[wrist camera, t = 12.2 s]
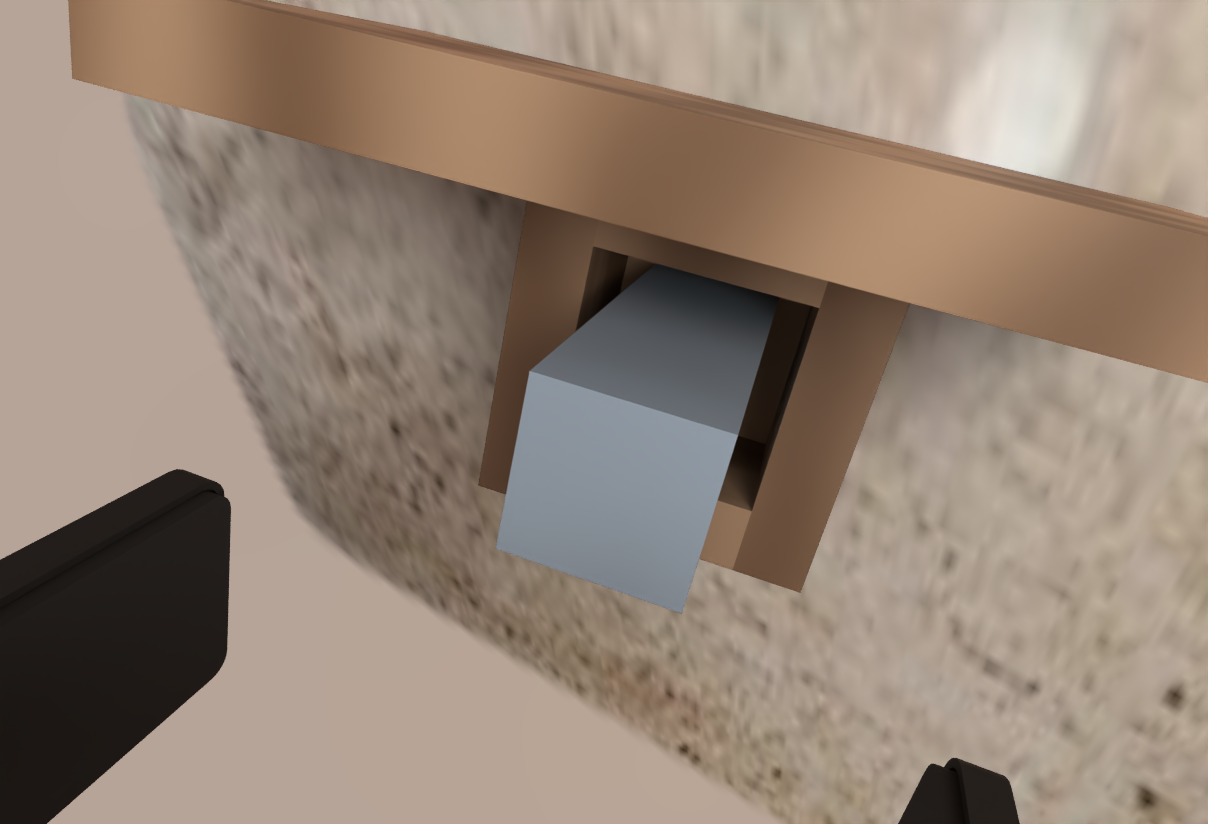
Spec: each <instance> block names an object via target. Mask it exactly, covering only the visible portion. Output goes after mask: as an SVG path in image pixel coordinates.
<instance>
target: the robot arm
mask: <svg viewBox="0 0 1208 824" xmlns="http://www.w3.org/2000/svg"><path fill="white" fill-rule="evenodd" d="M230 517H231V506H230V502H229V500H228V499H227V498H225V497H224V490H223V488H222V486H221V485H220V484H218V483H217V482H215V481H212V480H209V479H207V478H204V477H201V476H199V475H196V474H193V473H191V472H188V471H185V470H178V469H176V470H173V471H170V472H168V473H166V474H164V475H162V476H160V477H158V478H156V479H154V480H152V481H151V482H149V483H147V484H145V485H143V486H141V487H139V488H137V489H135V490H133V491H131V492H129V493H128V494H126V495H124V496H122V497H120V498H118V499H116V500H115V501H112V502H111V503H108V504H106V505H105V506H103V507H101V508H99V509H97V510H95V511H93V512H91V513H89V514H87V515H85V516H83V517H82V518H80V519H78V520H76V521H74V522H72V523H70V524H68V525H66V526H64V527H62V528H60V529H58V530H57V531H55V532H53V533H51V534H49V535H47V536H45V537H43V538H41V539H39V540H37V541H35V542H34V543H32V544H30V545H28V546H26V547H24V548H22V549H20V550H18V551H16V552H14V553H12V554H11V555H9V556H7V557H5V558H3V559H1V560H0V824H47V823H48V822H49V821H50V820H51V819H52V818H54V817H55V816H56V815H57V814H58V813H59V812H60V811H62V809H64V808H65V807H66V806H67V805H69V804H70V803H71V802H72V801H73V800H74V799H75V798H76V797H78V796H79V795H80V794H81V793H82V792H83V791H84V790H86V789H87V788H88V787H89V786H90V785H91V784H92V783H94V782H95V781H96V780H97V779H98V778H99V777H100V776H102V775H103V774H104V773H105V772H106V771H107V770H108V769H109V768H111V767H112V766H113V765H114V764H115V763H116V762H118V761H119V760H120V759H121V758H122V757H123V756H124V755H125V754H127V753H128V752H129V751H130V750H131V749H132V748H134V747H135V746H136V745H137V744H138V743H139V742H140V741H142V740H143V739H144V738H145V737H146V736H147V735H148V734H150V733H151V732H152V731H153V730H154V729H155V728H156V727H157V726H159V725H160V724H161V723H162V722H163V721H164V720H166V719H167V718H168V717H169V716H170V715H171V714H172V713H174V712H175V711H176V710H177V709H178V708H179V707H180V706H181V705H183V704H184V703H185V702H186V701H187V700H188V699H189V698H191V697H192V696H193V695H194V694H195V693H196V692H198V690H200V689H201V688H202V687H203V686H204V685H205V684H207V683H208V682H209V681H210V680H211V679H212V678H213V677H214V676H215V675H216V674H217V673H218V671H219V670H220V668H221V667H222V665H223V663H224V660H225V657H226V654H227V636H228V635H227V634H228V598H229V597H228V596H229V560H230V559H229V558H230V522H231V518H230ZM898 824H1020V823H1019V819H1018V815H1017V810H1016V806H1015V801H1014V797H1013V792H1012V788H1011V785H1010V782H1009V780H1008V779H1007V778H1006V777H1005V776H1003V775H1000V774H998V773H995V772H992V771H990V770H987V769H984V768H982V767H979V766H976V765H974V764H971V763H968V762H966V761H963V760H960V759H958V758H952V759H950V760H949V761H948V762H947V764H946V765H945V767H941V766H939V765H936V764H930V765H929V766H928V768H927V769H926V771H925V772H924V774H923V776H922V778H921V780H920V782H919V784H918V786H917V788H916V790H915V792H914V794H913V796H912V798H911V800H910V802H909V804H908V806H907V808H906V810H905V812H904V813H903V815H902V817H901V819H900V821H899V823H898Z"/></svg>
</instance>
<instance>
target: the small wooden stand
mask: <svg viewBox="0 0 1208 824" xmlns="http://www.w3.org/2000/svg"><path fill="white" fill-rule="evenodd" d="M68 1H69V22H70V42H71V61H72V78H73V79H76V80H79V81H83V82H87V83H91V84H95V85H98V86H102V87H106V88H109V89H113V90H117V91H120V92H124V93H128V94H132V95H135V96H139V97H143V98H147V99H150V100H154V101H158V102H162V103H165V104H169V105H173V106H176V107H180V108H184V109H188V110H191V111H195V112H199V113H203V114H206V115H210V116H214V117H217V118H221V119H225V120H229V121H232V122H236V123H240V124H244V125H247V126H251V127H255V128H259V129H262V130H266V131H270V132H273V133H277V134H281V135H285V136H288V137H292V138H296V139H300V140H303V141H307V142H311V143H315V144H318V145H322V146H326V147H329V148H333V149H337V150H341V151H344V152H348V153H352V154H356V155H359V156H363V157H367V158H370V159H374V160H378V161H382V162H385V163H389V164H393V165H397V166H400V167H404V168H408V169H412V170H415V171H419V172H423V173H426V174H430V175H434V176H438V177H441V178H445V179H449V180H453V181H456V182H460V183H464V184H467V185H471V186H475V187H479V188H482V189H486V190H490V191H494V192H497V193H501V194H505V195H509V196H512V197H516V198H520V199H523V200H527V203H526V209H525V215H524V221H523V226H522V232H521V238H520V244H519V250H518V256H517V262H516V267H515V273H514V279H513V285H512V291H511V297H510V303H509V308H508V314H507V320H506V326H505V332H504V338H503V344H502V349H501V355H500V361H499V367H498V373H497V379H496V385H495V390H494V396H493V402H492V408H491V414H490V420H489V426H488V431H487V437H486V443H485V449H484V455H483V461H482V467H481V473H480V478H479V484H478V485H479V486H482V487H485V488H488V489H491V490H494V491H497V492H500V493H503V494H506V492H507V487H508V481H509V476H510V471H511V466H512V461H513V455H514V450H515V445H516V440H517V434H518V429H519V424H520V419H521V414H522V408H523V403H524V398H525V393H526V388H527V382H528V377H529V372H530V370H531V369H533V368H534V367H535V366H536V365H537V364H538V363H540V362H541V361H542V360H543V359H544V358H545V357H547V356H548V355H549V354H550V353H551V352H553V351H554V350H555V349H556V348H557V347H558V346H560V345H561V344H562V343H563V342H564V341H565V340H567V339H568V338H569V337H570V336H571V335H572V334H574V333H575V332H576V331H577V330H578V329H580V328H581V327H582V326H583V325H584V324H585V323H587V322H588V321H589V320H590V319H591V318H592V317H594V316H595V315H596V314H597V313H598V312H600V311H601V310H602V309H603V308H604V307H605V306H607V305H608V304H609V303H610V302H611V301H612V300H614V299H615V298H616V297H617V296H618V295H620V294H621V293H622V292H623V291H624V290H625V289H627V288H628V287H629V286H630V285H631V284H632V283H634V282H635V281H636V280H637V279H638V278H639V277H641V276H642V275H643V274H644V273H645V272H647V271H648V270H649V269H650V268H651V267H652V266H654V265H655V264H660V265H664V266H667V267H671V268H675V269H678V270H682V271H686V272H689V273H693V274H697V275H700V276H704V277H708V278H711V279H715V280H719V281H722V282H726V283H729V284H733V285H737V286H740V287H744V288H748V289H751V290H755V291H759V292H762V293H766V294H770V295H773V296H777V297H779V300H778V304H777V307H776V310H775V314H774V317H773V320H772V324H771V327H770V330H769V334H768V337H767V340H766V344H765V347H764V350H763V354H762V357H761V360H760V364H759V367H758V370H757V374H756V377H755V380H754V384H753V387H752V390H751V394H750V397H749V400H748V404H747V407H746V410H745V414H744V417H743V420H742V424H741V427H740V430H739V434H738V437H737V440H736V443H735V446H734V450H733V453H732V456H731V459H730V462H729V466H728V469H727V472H726V475H725V478H724V481H723V485H722V488H721V491H720V494H719V497H718V500H717V504H716V507H715V510H714V513H713V516H712V519H711V523H710V526H709V529H708V532H707V535H706V539H705V542H704V545H703V548H702V551H701V554H700V558H699V559H701V560H704V561H707V562H710V563H713V564H716V565H719V566H722V567H725V568H728V569H731V570H734V571H737V572H740V573H743V574H746V575H749V576H752V577H755V578H758V579H761V580H764V581H767V582H770V583H773V584H776V585H779V586H782V587H785V588H788V589H791V590H794V591H797V592H801V590H802V587H803V584H804V582H805V579H806V576H807V574H808V571H809V569H810V566H811V563H812V561H813V558H814V555H815V553H816V550H817V547H818V545H819V542H820V539H821V537H822V534H823V532H824V529H825V526H826V524H827V521H828V518H829V516H830V513H831V510H832V508H833V505H834V502H835V500H836V497H837V495H838V492H839V489H840V487H841V484H842V481H843V479H844V476H845V473H846V471H847V468H848V465H849V463H850V460H851V458H852V455H853V452H854V450H855V447H856V444H857V442H858V439H859V436H860V434H861V431H862V428H863V426H864V423H865V420H866V418H867V415H868V413H869V410H870V407H871V405H872V402H873V399H874V397H875V394H876V391H877V389H878V386H879V383H880V381H881V378H882V376H883V373H884V370H885V368H886V365H887V362H888V360H889V357H890V354H891V352H892V349H893V346H894V344H895V341H896V339H897V336H898V333H899V331H900V328H901V325H902V323H903V320H904V317H905V315H906V312H907V309H908V307H909V304H910V303H912V304H915V305H919V306H923V307H926V308H930V309H934V310H938V311H941V312H945V313H949V314H953V315H956V316H960V317H964V318H967V319H971V320H975V321H979V322H982V323H986V324H990V325H994V326H997V327H1001V328H1005V329H1009V330H1012V331H1016V332H1020V333H1023V334H1027V335H1031V336H1035V337H1038V338H1042V339H1046V340H1050V341H1053V342H1057V343H1061V344H1064V345H1068V346H1072V347H1076V348H1079V349H1083V350H1087V351H1091V352H1094V353H1098V354H1102V355H1106V356H1109V357H1113V358H1117V359H1120V360H1124V361H1128V362H1132V363H1135V364H1139V365H1143V366H1147V367H1150V368H1154V369H1158V370H1162V371H1165V372H1169V373H1173V374H1176V375H1180V376H1184V377H1188V378H1191V379H1195V380H1199V381H1203V382H1206V383H1208V218H1205V217H1201V216H1198V215H1195V214H1191V213H1188V212H1184V211H1181V210H1177V209H1174V208H1170V207H1166V206H1161V205H1157V204H1153V203H1149V202H1144V201H1140V200H1136V199H1132V198H1128V197H1123V196H1119V195H1115V194H1111V193H1106V192H1102V191H1098V190H1094V189H1089V188H1085V187H1081V186H1077V185H1073V184H1068V183H1064V182H1060V181H1056V180H1051V179H1047V178H1043V177H1039V176H1034V175H1030V174H1026V173H1022V172H1018V171H1013V170H1009V169H1005V168H1001V167H996V166H992V165H988V164H984V163H979V162H975V161H971V160H967V159H963V158H958V157H954V156H950V155H946V154H941V153H937V152H933V151H929V150H925V149H920V148H916V147H912V146H908V145H903V144H899V143H895V142H891V141H886V140H882V139H878V138H874V137H870V136H865V135H861V134H857V133H853V132H848V131H844V130H840V129H836V128H831V127H827V126H823V125H819V124H815V123H810V122H806V121H802V120H798V119H793V118H789V117H785V116H781V115H776V114H772V113H768V112H764V111H760V110H755V109H751V108H747V107H743V106H738V105H734V104H730V103H726V102H722V101H717V100H713V99H709V98H705V97H700V96H696V95H692V94H688V93H683V92H679V91H675V90H671V89H667V88H662V87H658V86H654V85H650V84H645V83H641V82H637V81H633V80H628V79H624V78H620V77H616V76H612V75H607V74H603V73H599V72H595V71H590V70H586V69H582V68H578V67H573V66H569V65H565V64H561V63H557V62H552V61H548V60H544V59H540V58H535V57H531V56H527V55H523V54H519V53H514V52H510V51H506V50H502V49H497V48H493V47H489V46H485V45H480V44H476V43H472V42H468V41H464V40H459V39H455V38H451V37H447V36H442V35H438V34H434V33H430V32H425V31H421V30H416V29H410V28H405V27H400V26H395V25H390V24H385V23H379V22H374V21H369V20H364V19H359V18H354V17H348V16H343V15H338V14H333V13H328V12H323V11H317V10H312V9H307V8H302V7H297V6H292V5H286V4H281V3H276V2H271V1H266V0H68Z"/></svg>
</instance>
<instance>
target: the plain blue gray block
mask: <svg viewBox="0 0 1208 824" xmlns="http://www.w3.org/2000/svg"><path fill="white" fill-rule="evenodd" d="M778 300H779V297H777V296H773V295H770V294H766V293H762V292H759V291H755V290H751V289H748V288H744V287H740V286H737V285H733V284H729V283H726V282H722V281H719V280H715V279H711V278H708V277H704V276H700V275H697V274H693V273H689V272H686V271H682V270H678V269H675V268H671V267H667V266H664V265H660V264H655V265H654V266H652V267H651V268H650V269H649V270H648V271H647V272H645V273H644V274H643V275H642V276H641V277H639V278H638V279H637V280H636V281H635V282H634V283H632V284H631V285H630V286H629V287H628V288H627V289H625V290H624V291H623V292H622V293H621V294H620V295H618V296H617V297H616V298H615V299H614V300H612V301H611V302H610V303H609V304H608V305H607V306H605V307H604V308H603V309H602V310H601V311H600V312H598V313H597V314H596V315H595V316H594V317H592V318H591V319H590V320H589V321H588V322H587V323H585V324H584V325H583V326H582V327H581V328H580V329H578V330H577V331H576V332H575V333H574V334H572V335H571V336H570V337H569V338H568V339H567V340H565V341H564V342H563V343H562V344H561V345H560V346H558V347H557V348H556V349H555V350H554V351H553V352H551V353H550V354H549V355H548V356H547V357H545V358H544V359H543V360H542V361H541V362H540V363H538V364H537V365H536V366H535V367H534V368H533V369H531V370H530V372H529V377H528V382H527V388H526V393H525V398H524V403H523V408H522V414H521V419H520V424H519V429H518V434H517V440H516V445H515V450H514V455H513V461H512V466H511V471H510V476H509V481H508V487H507V492H506V497H505V502H504V507H503V513H502V518H501V523H500V528H499V533H498V539H497V544H496V549H498V550H501V551H504V552H507V553H510V554H512V555H515V556H518V557H521V558H524V559H527V560H530V561H532V562H535V563H538V564H541V565H544V566H547V567H550V568H552V569H555V570H558V571H561V572H564V573H567V574H570V575H572V576H575V577H578V578H581V579H584V580H587V581H590V582H592V583H595V584H598V585H601V586H604V587H607V588H610V589H613V590H615V591H618V592H621V593H624V594H627V595H630V596H633V597H635V598H638V599H641V600H644V601H647V602H650V603H653V604H655V605H658V606H661V607H664V608H667V609H670V610H673V611H675V612H678V613H681V614H682V611H683V608H684V605H685V602H686V599H687V596H688V592H689V589H690V586H691V583H692V580H693V577H694V573H695V570H696V567H697V564H698V561H699V558H700V554H701V551H702V548H703V545H704V542H705V539H706V535H707V532H708V529H709V526H710V523H711V519H712V516H713V513H714V510H715V507H716V504H717V500H718V497H719V494H720V491H721V488H722V485H723V481H724V478H725V475H726V472H727V469H728V466H729V462H730V459H731V456H732V453H733V450H734V446H735V443H736V440H737V437H738V434H739V430H740V427H741V424H742V420H743V417H744V414H745V410H746V407H747V404H748V400H749V397H750V394H751V390H752V387H753V384H754V380H755V377H756V374H757V370H758V367H759V364H760V360H761V357H762V354H763V350H764V347H765V344H766V340H767V337H768V334H769V330H770V327H771V324H772V320H773V317H774V314H775V310H776V307H777V304H778Z"/></svg>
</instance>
